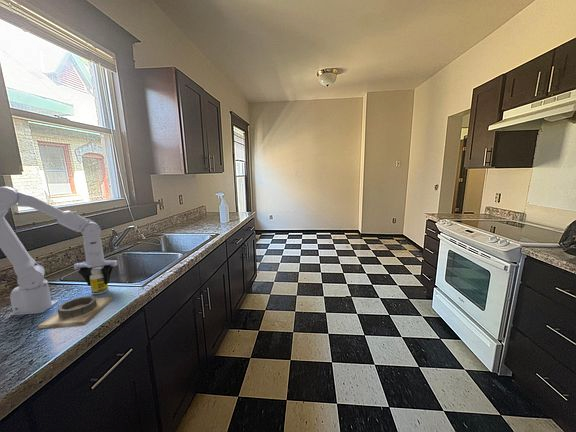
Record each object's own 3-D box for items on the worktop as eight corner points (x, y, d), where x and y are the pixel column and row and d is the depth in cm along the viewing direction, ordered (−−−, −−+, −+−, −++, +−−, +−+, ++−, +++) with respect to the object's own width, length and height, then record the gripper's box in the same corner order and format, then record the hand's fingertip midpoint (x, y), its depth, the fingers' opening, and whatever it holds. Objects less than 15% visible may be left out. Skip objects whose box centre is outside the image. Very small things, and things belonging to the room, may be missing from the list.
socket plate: (38, 328, 77) (36, 318, 76) (74, 302, 93) (72, 293, 92) (84, 324, 79) (82, 314, 78) (112, 299, 94) (110, 291, 94)
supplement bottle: (99, 295, 98) (95, 272, 96) (88, 294, 99) (84, 271, 97) (111, 289, 103) (108, 267, 101) (100, 288, 104) (97, 266, 103)
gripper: (66, 256, 93) (72, 290, 95) (109, 253, 96) (114, 286, 98) (78, 251, 100) (83, 282, 102) (118, 248, 103) (122, 279, 105)
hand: (99, 283), depth 100 cm, fingers closed on supplement bottle, 5 cm apart
